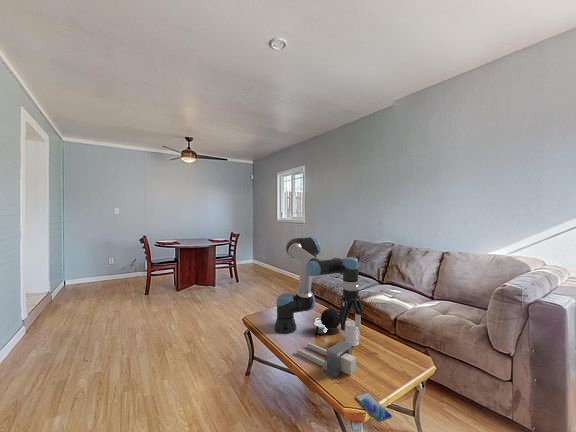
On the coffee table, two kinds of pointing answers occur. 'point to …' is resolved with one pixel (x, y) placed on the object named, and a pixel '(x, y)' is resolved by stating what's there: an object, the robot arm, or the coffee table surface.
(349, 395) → the coffee table surface
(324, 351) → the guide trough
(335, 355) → the housing
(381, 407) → the smartphone
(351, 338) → the mug
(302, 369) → the coffee table surface
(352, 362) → the plug
